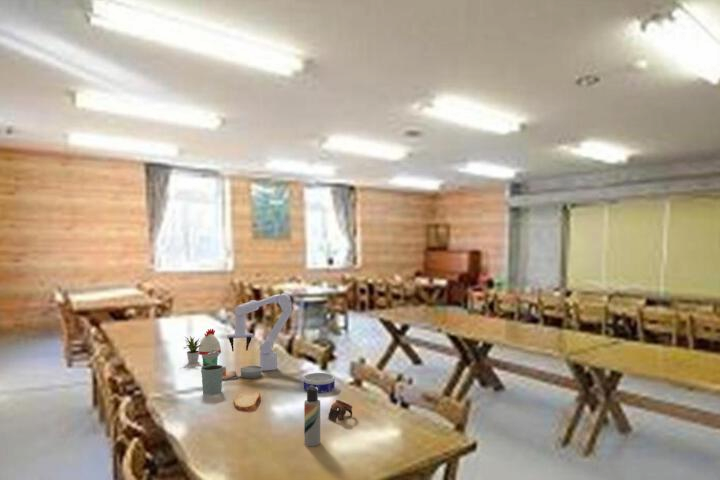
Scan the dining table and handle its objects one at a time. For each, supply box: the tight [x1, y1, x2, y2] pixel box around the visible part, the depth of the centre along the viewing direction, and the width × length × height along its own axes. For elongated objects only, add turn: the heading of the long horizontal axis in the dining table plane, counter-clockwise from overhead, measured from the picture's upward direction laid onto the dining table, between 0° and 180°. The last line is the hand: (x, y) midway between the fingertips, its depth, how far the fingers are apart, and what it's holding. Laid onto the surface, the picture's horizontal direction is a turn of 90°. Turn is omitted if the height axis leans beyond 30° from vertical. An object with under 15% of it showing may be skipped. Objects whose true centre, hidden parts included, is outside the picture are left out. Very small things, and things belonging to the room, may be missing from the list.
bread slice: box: [232, 391, 262, 413], centre depth 220 cm, size 18×18×4 cm
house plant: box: [183, 335, 203, 364], centre depth 293 cm, size 14×14×16 cm
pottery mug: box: [327, 399, 353, 423], centre depth 200 cm, size 12×10×8 cm
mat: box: [222, 370, 238, 381], centre depth 262 cm, size 16×14×1 cm
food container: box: [201, 350, 220, 367], centre depth 276 cm, size 12×6×10 cm, turn 168°
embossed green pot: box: [200, 364, 223, 396], centre depth 235 cm, size 10×10×12 cm
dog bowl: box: [302, 372, 336, 394], centre depth 241 cm, size 15×15×6 cm
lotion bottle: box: [303, 387, 321, 447], centre depth 176 cm, size 6×6×20 cm
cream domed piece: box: [197, 328, 222, 355], centre depth 320 cm, size 14×14×15 cm
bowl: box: [240, 365, 263, 379], centre depth 263 cm, size 11×11×4 cm
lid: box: [222, 365, 235, 379], centre depth 261 cm, size 12×12×5 cm
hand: (239, 350), depth 277 cm, fingers open, 7 cm apart
